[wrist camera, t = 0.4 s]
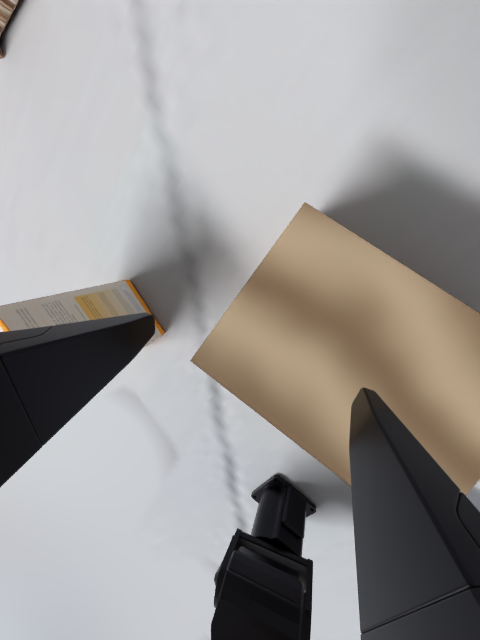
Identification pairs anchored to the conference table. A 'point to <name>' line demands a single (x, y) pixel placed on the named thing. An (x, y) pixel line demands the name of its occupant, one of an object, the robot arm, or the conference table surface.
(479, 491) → the grey cylinder cream end
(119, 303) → the supplement box
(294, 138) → the conference table surface
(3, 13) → the book
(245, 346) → the lid
